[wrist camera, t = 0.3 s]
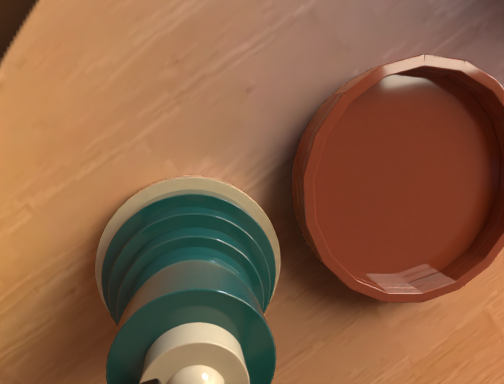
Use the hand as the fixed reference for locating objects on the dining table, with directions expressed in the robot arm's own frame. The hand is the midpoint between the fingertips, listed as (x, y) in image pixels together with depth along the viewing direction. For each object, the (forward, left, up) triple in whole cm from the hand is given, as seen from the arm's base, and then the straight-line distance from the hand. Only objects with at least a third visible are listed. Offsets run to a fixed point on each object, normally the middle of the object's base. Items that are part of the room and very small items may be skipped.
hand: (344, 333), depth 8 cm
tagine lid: (-2, +4, -15) cm, 15 cm away
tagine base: (-1, -11, -15) cm, 18 cm away
